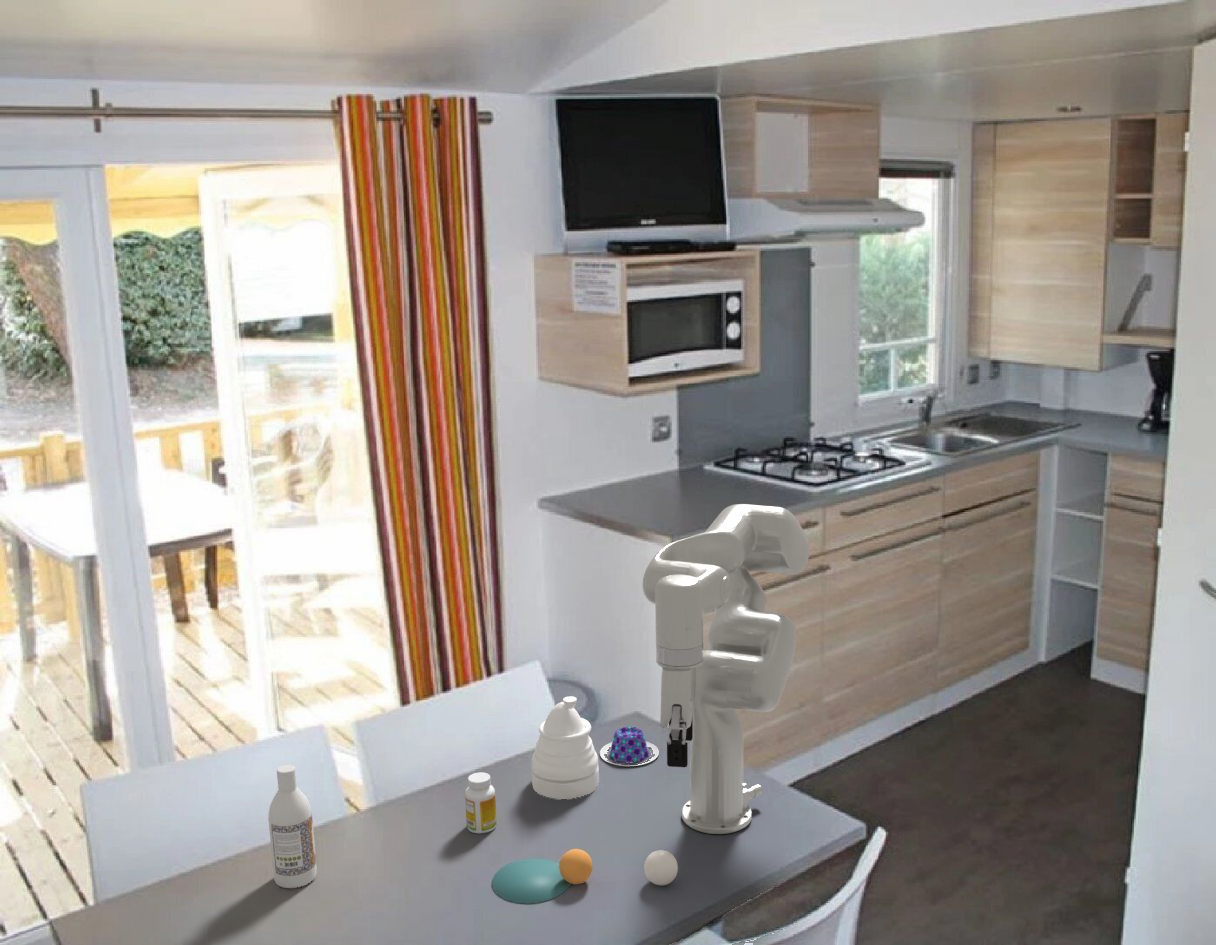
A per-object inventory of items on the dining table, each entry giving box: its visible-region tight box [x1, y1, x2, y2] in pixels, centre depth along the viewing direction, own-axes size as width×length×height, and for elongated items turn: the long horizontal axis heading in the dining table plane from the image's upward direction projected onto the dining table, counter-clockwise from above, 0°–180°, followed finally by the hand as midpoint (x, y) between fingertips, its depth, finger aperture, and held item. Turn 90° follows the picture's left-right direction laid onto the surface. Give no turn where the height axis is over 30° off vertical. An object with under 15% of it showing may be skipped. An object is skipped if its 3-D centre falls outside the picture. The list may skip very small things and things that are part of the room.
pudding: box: [599, 726, 660, 767], centre depth 239 cm, size 12×12×5 cm
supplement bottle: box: [464, 771, 498, 834], centre depth 212 cm, size 5×5×10 cm
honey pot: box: [531, 695, 600, 800], centre depth 227 cm, size 13×13×18 cm
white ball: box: [643, 849, 679, 886], centre depth 194 cm, size 6×6×6 cm
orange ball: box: [559, 848, 594, 885], centre depth 195 cm, size 6×6×6 cm
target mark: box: [491, 857, 571, 905], centre depth 196 cm, size 13×13×1 cm
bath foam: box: [268, 764, 318, 889], centre depth 196 cm, size 7×7×20 cm
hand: (680, 752), depth 192 cm, fingers open, 9 cm apart
